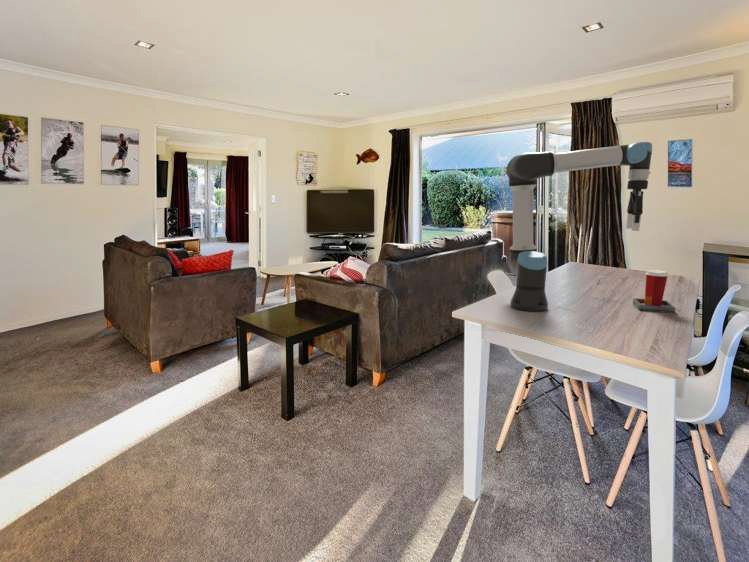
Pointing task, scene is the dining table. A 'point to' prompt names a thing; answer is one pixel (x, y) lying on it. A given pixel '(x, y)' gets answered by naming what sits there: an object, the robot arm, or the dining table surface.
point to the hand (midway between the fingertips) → (632, 229)
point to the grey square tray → (663, 308)
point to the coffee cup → (655, 287)
